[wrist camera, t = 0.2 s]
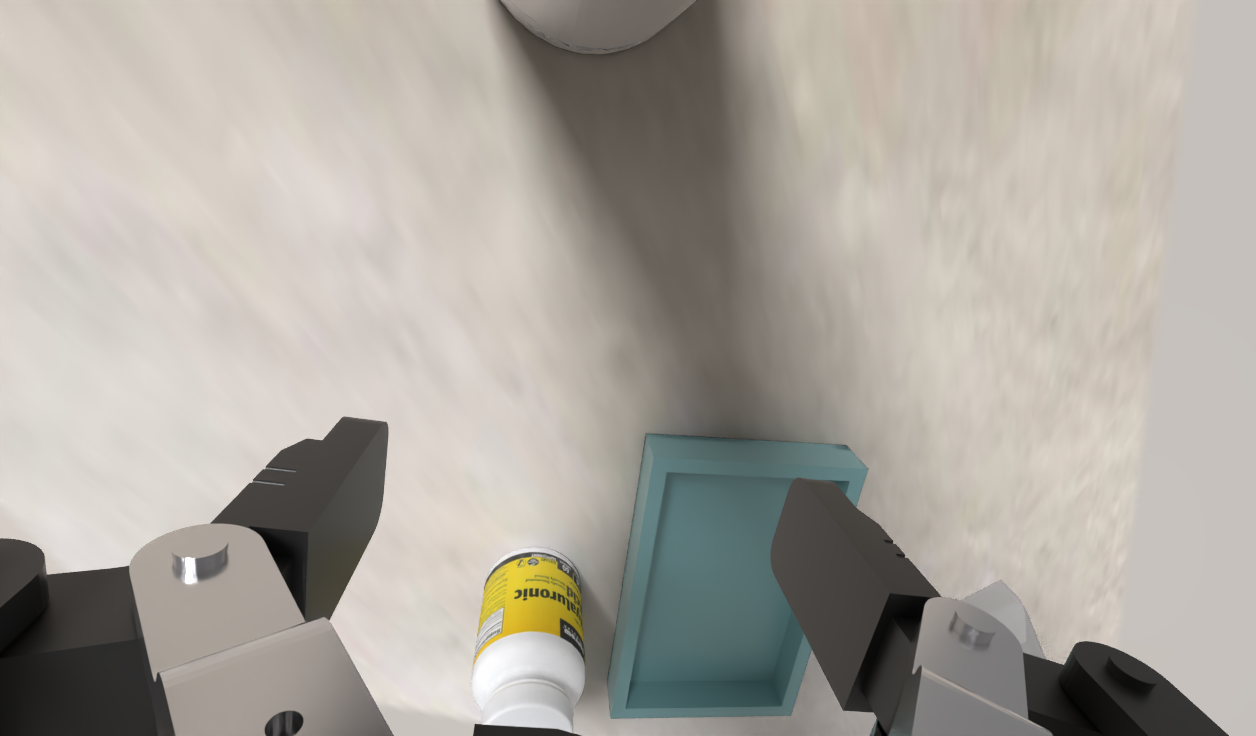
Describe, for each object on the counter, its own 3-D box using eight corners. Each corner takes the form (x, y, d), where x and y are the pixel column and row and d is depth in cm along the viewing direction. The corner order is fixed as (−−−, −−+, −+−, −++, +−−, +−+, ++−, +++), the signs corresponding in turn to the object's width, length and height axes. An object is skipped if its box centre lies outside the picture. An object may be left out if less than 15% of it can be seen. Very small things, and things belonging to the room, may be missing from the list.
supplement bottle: (598, 569, 35) (615, 723, 26) (544, 630, 36) (542, 798, 27) (520, 527, 33) (509, 677, 24) (466, 593, 34) (436, 759, 25)
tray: (646, 433, 32) (653, 457, 30) (846, 445, 34) (868, 468, 31) (607, 682, 38) (610, 718, 36) (777, 681, 40) (790, 715, 38)
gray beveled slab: (965, 810, 43) (895, 689, 37) (934, 760, 46) (866, 642, 40) (1089, 751, 42) (1038, 617, 36) (1049, 704, 45) (996, 575, 40)
